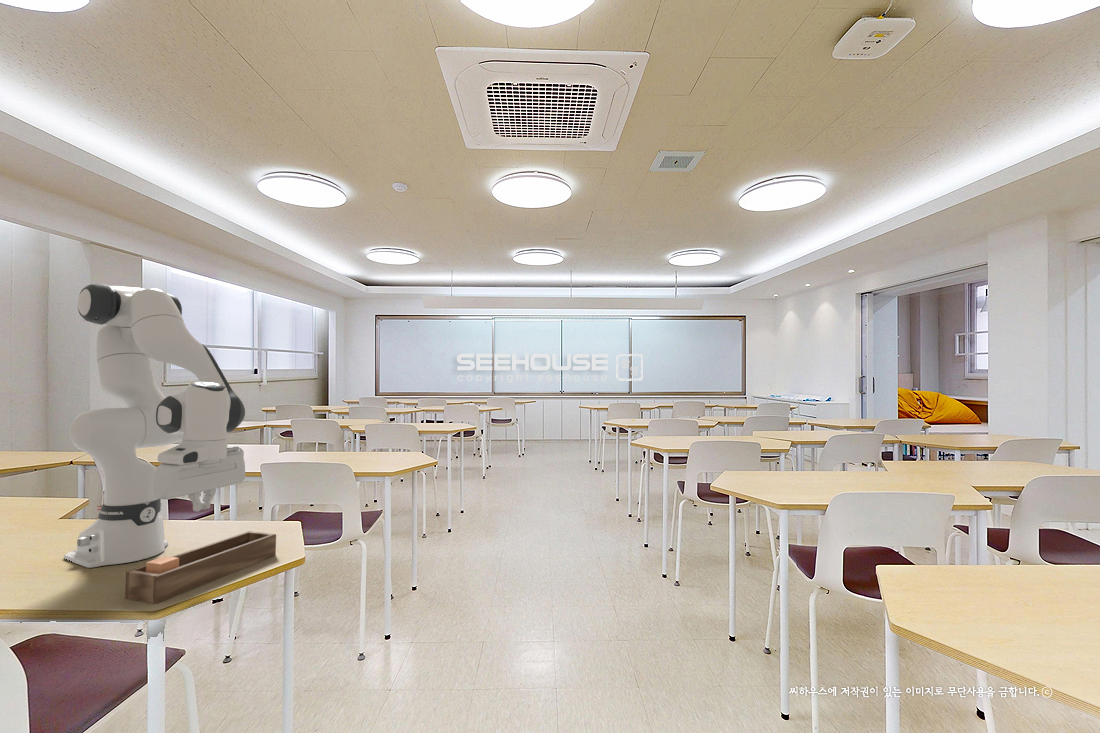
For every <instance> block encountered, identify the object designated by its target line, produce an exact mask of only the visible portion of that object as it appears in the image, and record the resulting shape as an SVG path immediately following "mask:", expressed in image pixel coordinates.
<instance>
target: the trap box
mask: <svg viewBox="0 0 1100 733" xmlns="http://www.w3.org/2000/svg"><path fill="white" fill-rule="evenodd" d="M276 549H277V534H276V533H269V532H261V531H260V532H259V531H251V530H248V531H245V532H243V533H239V534H237V535H234V536H229V537H227V538H225V539H221V540H219V541H215V542H212V543H209V544H207V545H203V546H200V547H197V548H193V549H190V550H189V551H188V550H187V551H185V552H182V553H179V554H175V555H173V556H171V557H176V558H179V567H178V568H175V569H172V570H169V571H166V572H164V573H161V574H155V573H148V572H146V564H144V565H142V566H139V567H136V568H133V569H130V570H127V571H125V584H124V586H125V587H124V588H125V589H124V590H125V591H124V599H126V600H127V599H129V600H132V601H139V602H140V601H141V602H146V603H150V604H159V603H162V602H164V601H166V600H169V599H171V598H174V597H176V596H178V595H179V596H180V595H182V594H183V593H186V592H189V591H191V590H194V589H196V588H198V587H200V586H203V585H206V584H208V583H211V582H214V581H216V580H218V579H220V578H223V577H226V576H228V575H230V574H232V573H236V572H237V571H241V570H243V569H245V568H248V567H250V566H253V565H255V564H258V563H260V562H262V561H265V560H267V559H270V558H272V557H275V556H276V554H277V553H276V552H277V551H276Z"/></svg>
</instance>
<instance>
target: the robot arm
mask: <svg viewBox="0 0 1100 733" xmlns="http://www.w3.org/2000/svg"><path fill="white" fill-rule="evenodd" d="M80 290H81V291H80V292H79V294H78V297H77V310H78V314H79V315H80V317H82V318H83V319H84V321H86V322H89V323H93V324H95V325H101V328H100V329H99V330H98V333H97V338H96V361H97V368H98V374H99V383H100V387H101V389H102V391H103V392H104V393H105V394H106V395H108V396H109V397H112V398H113V399H117V400H120V401H121V402H123V404H125V405H127V407H109V408H108V407H106V408H99V409H94V410H89V411H83V412H80V413H79V414H78V415H77V416H75V417H74V419H73V420H72V422H71V424H70V426H69V429H68V435H69V439H70V442H71V443H72V444H73V446H74V447H76V448H77V449H78V450H80V451H82V452H84V453H86V454H88V455H89V456H90V457H91V458H92V459H93V460H95V461H96V463H97V465H98V466H99V467H100V470H101V472H102V476H103V486H104V487H103V488H104V492H103V494H104V496H103V497H104V498H103V499H104V500H103V504H101V505H97V508H98V509H96V510H97V511H99V512H98V513H99V514H98V516H97V519H96V520H95V521H94V522H93V523H91V524H90V525H89V526H87V528H85V529H84V530H83V531H81V532H80V533H79V535H78V538H77V540H76V549H74V550H71V551H68V552H67V553H65V554H64V555H63V559H64V558H65V559H64V560H66V559H67V560H66V561H69V560H70V561H69V562H71V561H72V563H73V564H77V565H79V566H82V567H84V568H87V569H90V568H91V569H92V568H97V567H101V566H102V567H103V566H110V565H118V564H119V565H120V564H125V563H131V562H136V561H141V560H145V559H149V558H151V557H154V556H157V555H160V554H162V553H163V552H164V551H165V550H166V548H165V547H168V545H169V541H168V540H166V539H165V528H164V527H165V526H164V524H165V523H164V518H163V516H162V515H161V514H160V512H161V511H162V510H161V509H162V508H161V506H162V501H161V500H172V499H175V498H179V497H185V496H188V497H187V498H188V499H189V500H190V501H191V504H192V510H193V512H201V511H204V510H208V509H211V501H212V500H213V498H214V497H215V495H216V494H217V492H216V491H217V489H221V488H225V487H229V486H233V485H234V486H235V485H238V484H242V483H244V480H245V479H246V463H245V462H246V461H245V458H244V455H245V453H244V452H245V451H244V450H243V449H242V448H241V447H239V446H233V447H228V439H229V437H228V436H229V435H228V433H231V432H233V431H234V430H236V429H237V428H239V426H240V425H241V424H242V422H243V421H244V419H245V416H246V410H245V406H244V403H243V401H242V400H241V398H239V396H238V395H237V394H236V393H235V391H234V390H233V389H232V387H231V385H230V384H229V382H228V380H227V378H226V377H225V375H224V373H223V371H222V370H221V368H220V366H219V364H218V363H217V361H216V359H215V357H214V355H213V354H212V353H211V351H210V349H208V347H207V346H205V344H202V343H201V342H200V341H198V340H197V339H196V337H194V336H193V335H192V333H191V332H190V331H189V329H188V328H187V326H186V324H185V321H184V319H183V316H182V315H183V307H182V304H181V301H180V300H179V299H178V297H177V296H175V295H172V294H170V293H168V292H165V291H163V290H161V289H159V288H143V287H142V288H141V287H135V286H133V287H131V286H124V285H122V286H121V285H108V284H106V283H94V284H92V283H91V284H88V285H86V286H84V287H83V288H82V289H80ZM152 360H155V361H158V362H161V363H165V364H170V365H174V366H176V367H179V368H182V369H184V370H187V371H188V372H190V373H192V374H193V375H195V377H196V378H197V379H198V381H195V382H191V383H189V384H188V385H187V387H186V388H185V390H184V391H182V392H181V391H180V392H179V393H176V394H173V395H168V396H165V395H164V394H163V392H162V391H161V389H160V388H159V386H158V384H157V382H156V378H155V374H154V371H153V366H152ZM180 442H181V443H180ZM176 443H177V444H178V443H180V444H178V445H176V446H173V447H171V448H168V449H167V450H164V451H162V452H159V453H158V455H157V463H161V464H159V465H158V466H157V467H156V466H155V465H154V464H153V463H150V462H147V461H144V460H140V459H139V458H138V457H137V452H136V450H137V449H144V448H155V447H164V446H165V447H166V446H170V445H173V444H176ZM202 493H203V494H204V496H203V499H202V500H200V497H201V496H202Z"/></svg>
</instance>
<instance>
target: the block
mask: <svg viewBox="0 0 1100 733" xmlns="http://www.w3.org/2000/svg"><path fill="white" fill-rule="evenodd" d="M145 565H146V572H148V573H155V574H161V573H164V572H166V571H169V570H172V569H175V568H178V567H179V558H176V557H172V556H167V555H163V556H162V557H159V558H155V559H152V560H149V561H146V562H145Z"/></svg>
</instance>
